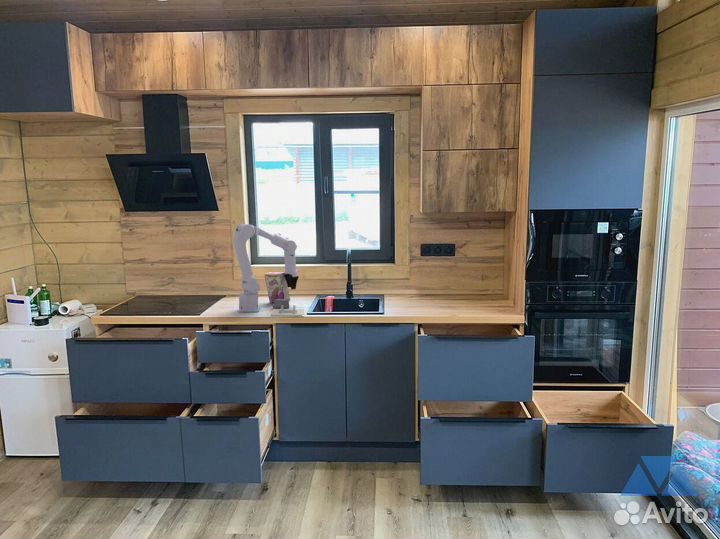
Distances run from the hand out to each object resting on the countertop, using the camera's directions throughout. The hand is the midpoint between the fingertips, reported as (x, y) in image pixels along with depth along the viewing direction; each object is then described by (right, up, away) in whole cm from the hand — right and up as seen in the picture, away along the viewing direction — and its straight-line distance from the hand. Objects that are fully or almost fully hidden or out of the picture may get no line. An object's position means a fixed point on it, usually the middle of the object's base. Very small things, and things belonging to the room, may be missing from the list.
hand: (291, 288), depth 287 cm
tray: (0, -12, -15) cm, 19 cm away
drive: (-5, -11, -5) cm, 13 cm away
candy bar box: (-7, -8, +9) cm, 14 cm away
